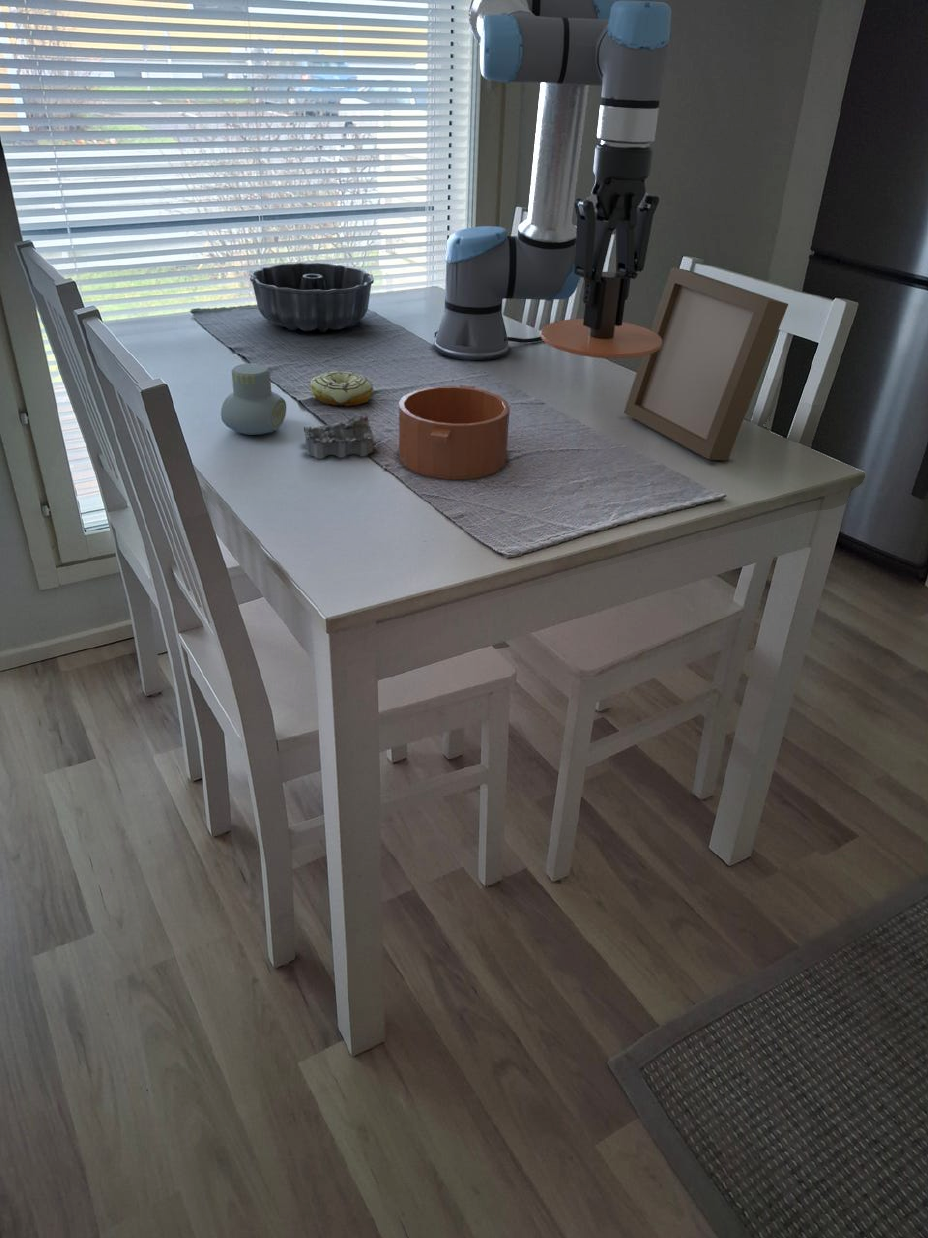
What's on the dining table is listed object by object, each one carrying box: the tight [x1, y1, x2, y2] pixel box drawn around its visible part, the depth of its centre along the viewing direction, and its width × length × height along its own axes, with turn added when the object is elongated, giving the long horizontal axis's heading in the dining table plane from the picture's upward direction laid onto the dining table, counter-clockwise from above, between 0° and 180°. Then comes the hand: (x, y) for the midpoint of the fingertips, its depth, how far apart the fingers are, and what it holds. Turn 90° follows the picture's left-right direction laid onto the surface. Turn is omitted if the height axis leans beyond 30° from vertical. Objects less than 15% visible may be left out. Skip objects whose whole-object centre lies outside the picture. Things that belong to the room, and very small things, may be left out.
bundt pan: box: [249, 262, 375, 333], centre depth 197 cm, size 26×26×10 cm
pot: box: [398, 384, 510, 480], centre depth 139 cm, size 17×22×8 cm
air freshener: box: [220, 362, 287, 436], centre depth 145 cm, size 11×8×10 cm
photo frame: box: [623, 266, 789, 462], centre depth 147 cm, size 15×22×25 cm
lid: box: [540, 271, 662, 359], centre depth 130 cm, size 18×18×10 cm
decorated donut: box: [310, 370, 374, 407], centre depth 160 cm, size 10×11×4 cm
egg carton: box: [303, 415, 375, 460], centre depth 141 cm, size 11×8×4 cm
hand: (602, 324), depth 131 cm, fingers closed on lid, 4 cm apart
